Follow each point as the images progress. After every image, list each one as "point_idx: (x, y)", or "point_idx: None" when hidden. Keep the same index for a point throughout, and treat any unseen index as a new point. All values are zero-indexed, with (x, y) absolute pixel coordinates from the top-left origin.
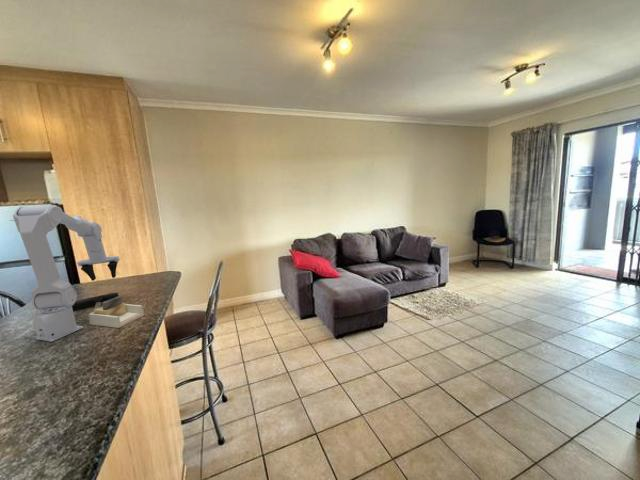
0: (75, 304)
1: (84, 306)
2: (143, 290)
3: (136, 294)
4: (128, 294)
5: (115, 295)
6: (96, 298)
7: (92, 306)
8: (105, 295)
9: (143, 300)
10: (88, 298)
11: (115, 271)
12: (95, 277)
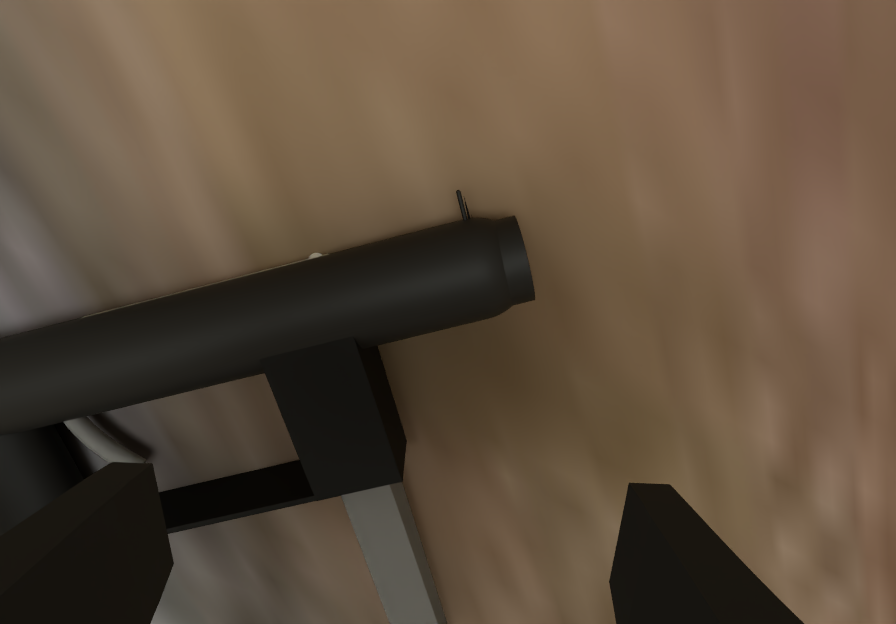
0: (73, 420)
1: (226, 497)
2: (830, 44)
3: (744, 219)
4: (625, 150)
5: (505, 309)
6: (297, 406)
7: (303, 470)
8: (381, 331)
9: (852, 521)
10: (175, 370)
11: (759, 609)
12: (132, 490)
